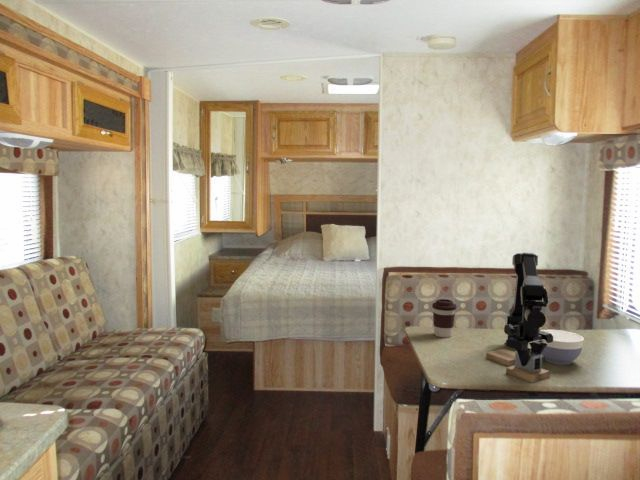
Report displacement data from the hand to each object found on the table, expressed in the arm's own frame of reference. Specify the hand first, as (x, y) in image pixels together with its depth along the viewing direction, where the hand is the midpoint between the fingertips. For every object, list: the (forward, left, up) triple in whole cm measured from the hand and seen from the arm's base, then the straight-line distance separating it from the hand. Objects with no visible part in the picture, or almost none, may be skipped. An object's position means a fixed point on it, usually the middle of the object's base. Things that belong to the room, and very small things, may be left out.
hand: (528, 364), depth 190 cm
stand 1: (-7, -14, -4) cm, 16 cm away
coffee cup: (-10, -48, -4) cm, 49 cm away
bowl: (-23, -3, -4) cm, 24 cm away
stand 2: (0, 0, -4) cm, 4 cm away
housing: (0, 0, -2) cm, 2 cm away
